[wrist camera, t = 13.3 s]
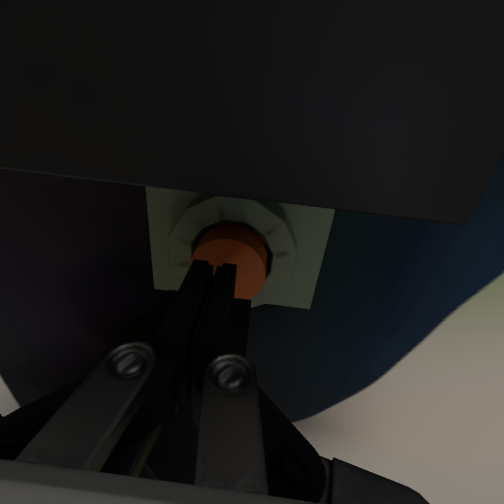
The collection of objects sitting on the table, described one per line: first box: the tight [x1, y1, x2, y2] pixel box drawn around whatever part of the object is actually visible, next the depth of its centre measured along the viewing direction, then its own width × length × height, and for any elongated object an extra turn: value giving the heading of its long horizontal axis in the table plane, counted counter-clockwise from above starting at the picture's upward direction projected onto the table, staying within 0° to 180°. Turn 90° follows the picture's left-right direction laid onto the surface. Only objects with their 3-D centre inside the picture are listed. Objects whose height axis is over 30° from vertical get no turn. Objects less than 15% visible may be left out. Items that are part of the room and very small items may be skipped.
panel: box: [146, 186, 335, 309], centre depth 16 cm, size 10×8×4 cm
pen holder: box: [85, 319, 199, 485], centre depth 19 cm, size 9×9×10 cm
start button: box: [190, 224, 267, 299], centre depth 14 cm, size 4×4×2 cm
